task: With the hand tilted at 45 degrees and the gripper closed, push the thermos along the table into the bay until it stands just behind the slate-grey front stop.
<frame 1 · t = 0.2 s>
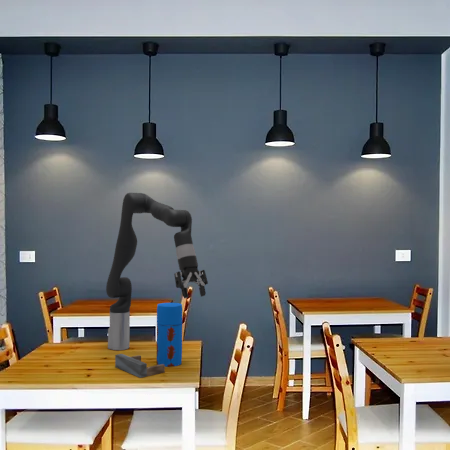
hand: (194, 297, 209), 31 cm above the table, tool tilted 20°, fingers open, 8 cm apart
thermos: (169, 363, 227), on the table
bay: (130, 371, 215), on the table
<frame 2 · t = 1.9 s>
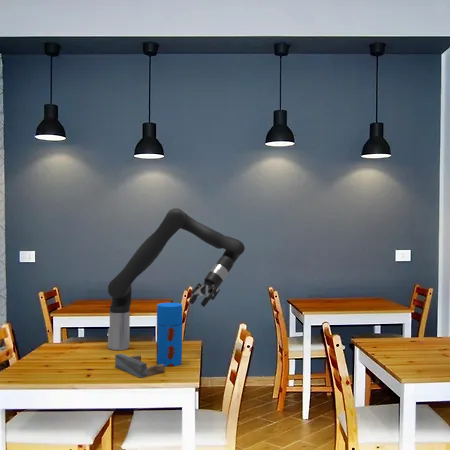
hand: (196, 304, 236), 24 cm above the table, tool tilted 45°, fingers open, 8 cm apart
nothing on the table moved.
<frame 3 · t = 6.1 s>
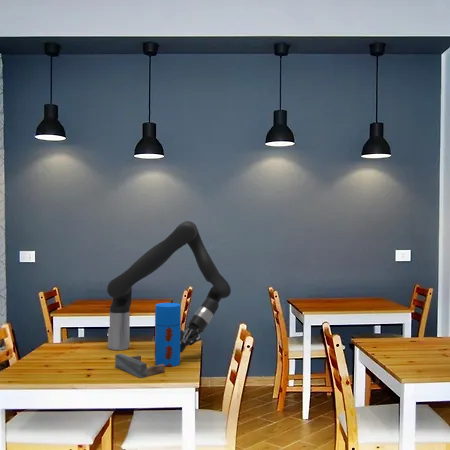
hand: (179, 351, 231), 4 cm above the table, tool tilted 45°, fingers closed
thermos: (167, 363, 227), on the table, touching gripper
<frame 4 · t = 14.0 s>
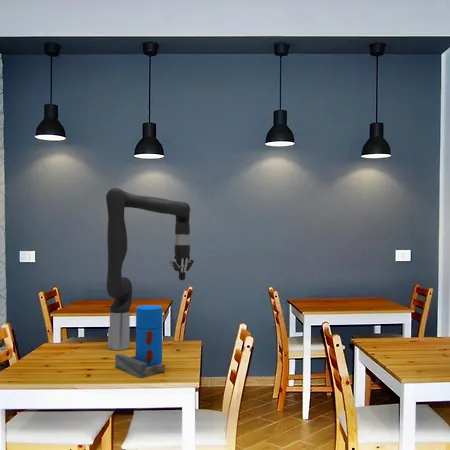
hand: (181, 280, 255), 32 cm above the table, tool pointing down, fingers closed
thermos: (148, 367, 221), on the table
at the end: thermos 8.8 cm from the bay (horizontally); thermos moved 10.2 cm from its start; thermos tilted 0° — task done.
